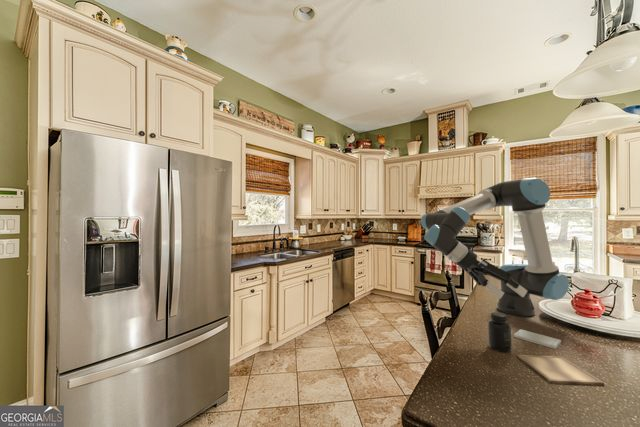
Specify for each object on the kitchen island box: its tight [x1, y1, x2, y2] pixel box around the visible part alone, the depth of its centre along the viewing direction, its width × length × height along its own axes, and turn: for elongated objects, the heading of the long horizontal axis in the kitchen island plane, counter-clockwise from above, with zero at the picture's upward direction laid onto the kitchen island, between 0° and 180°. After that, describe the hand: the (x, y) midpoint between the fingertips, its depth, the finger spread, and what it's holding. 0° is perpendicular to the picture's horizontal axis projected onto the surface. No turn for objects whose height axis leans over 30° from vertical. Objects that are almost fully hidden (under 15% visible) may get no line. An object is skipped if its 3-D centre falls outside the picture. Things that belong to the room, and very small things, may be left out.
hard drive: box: [513, 329, 562, 350], centre depth 101 cm, size 2×8×12 cm
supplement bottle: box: [487, 311, 513, 353], centre depth 95 cm, size 7×7×12 cm
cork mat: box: [516, 354, 605, 386], centre depth 81 cm, size 14×14×1 cm
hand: (512, 294), depth 97 cm, fingers open, 13 cm apart
